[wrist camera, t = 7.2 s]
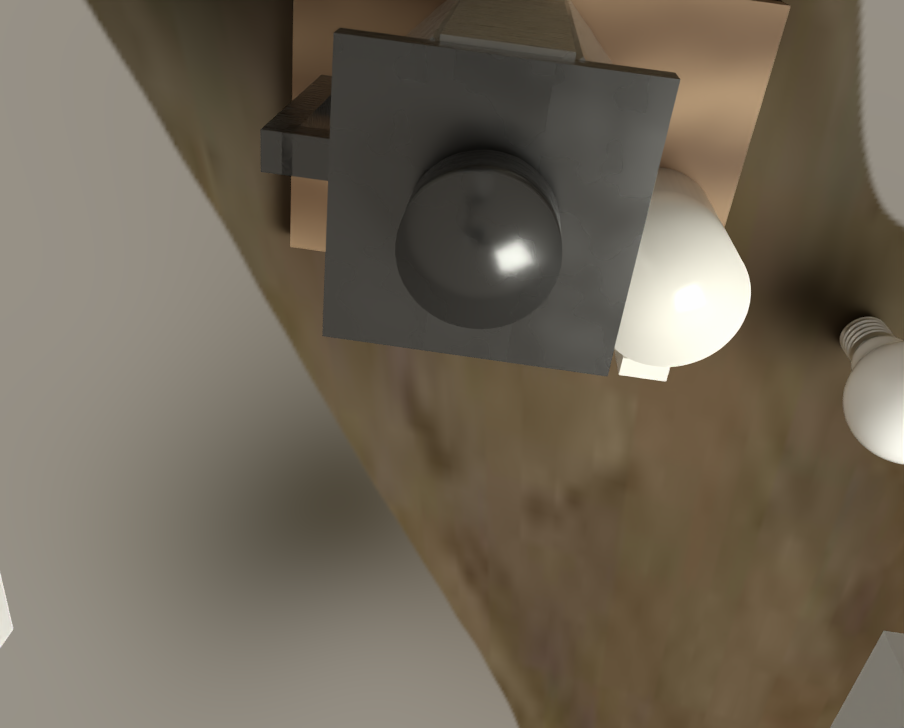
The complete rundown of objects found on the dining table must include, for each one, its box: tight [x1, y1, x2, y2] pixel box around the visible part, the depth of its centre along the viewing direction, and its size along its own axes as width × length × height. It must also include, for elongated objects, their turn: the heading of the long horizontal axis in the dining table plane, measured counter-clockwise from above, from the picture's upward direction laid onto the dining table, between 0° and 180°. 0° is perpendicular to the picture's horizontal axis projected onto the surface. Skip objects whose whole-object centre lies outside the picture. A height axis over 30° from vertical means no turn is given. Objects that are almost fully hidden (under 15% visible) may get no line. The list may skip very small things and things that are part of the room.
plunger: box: [395, 150, 562, 329], centre depth 32 cm, size 8×8×18 cm
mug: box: [614, 168, 751, 381], centre depth 42 cm, size 9×7×9 cm
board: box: [290, 0, 791, 252], centre depth 44 cm, size 16×24×2 cm, turn 84°
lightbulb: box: [840, 317, 904, 464], centre depth 44 cm, size 6×6×11 cm
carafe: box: [261, 0, 680, 376], centre depth 35 cm, size 11×14×18 cm
